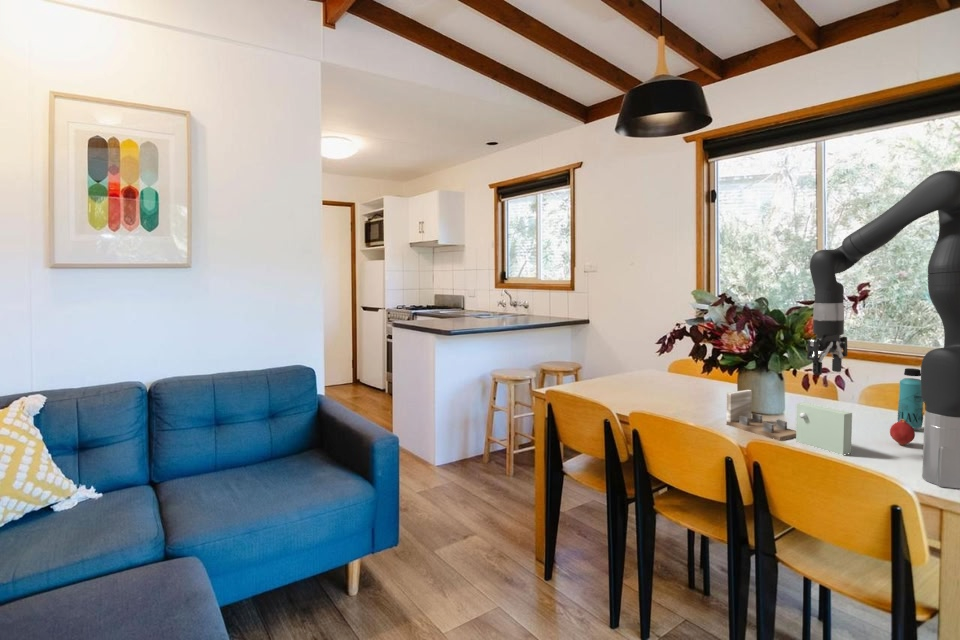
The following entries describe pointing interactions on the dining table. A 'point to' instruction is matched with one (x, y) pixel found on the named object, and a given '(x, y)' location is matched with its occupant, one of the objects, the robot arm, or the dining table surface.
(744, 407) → the cabinet frame
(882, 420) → the dining table surface
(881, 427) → the dining table surface
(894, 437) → the onion
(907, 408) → the beverage bottle
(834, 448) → the door
